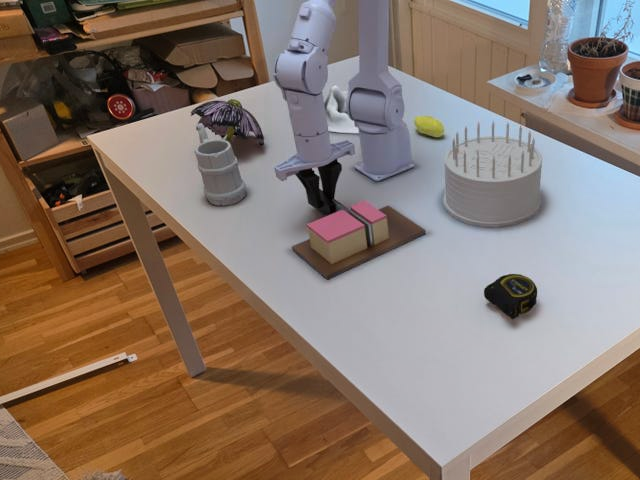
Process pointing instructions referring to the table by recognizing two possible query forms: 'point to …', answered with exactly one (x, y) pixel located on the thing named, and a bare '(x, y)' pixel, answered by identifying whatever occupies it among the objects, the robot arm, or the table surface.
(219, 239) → the table surface
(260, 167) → the table surface
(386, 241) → the board
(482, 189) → the cake
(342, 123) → the cloth
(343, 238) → the cake
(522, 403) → the table surface
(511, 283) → the tape measure
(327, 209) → the knife
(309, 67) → the robot arm
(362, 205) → the cake slice
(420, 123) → the lemon
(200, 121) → the decorative flower
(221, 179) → the mug
